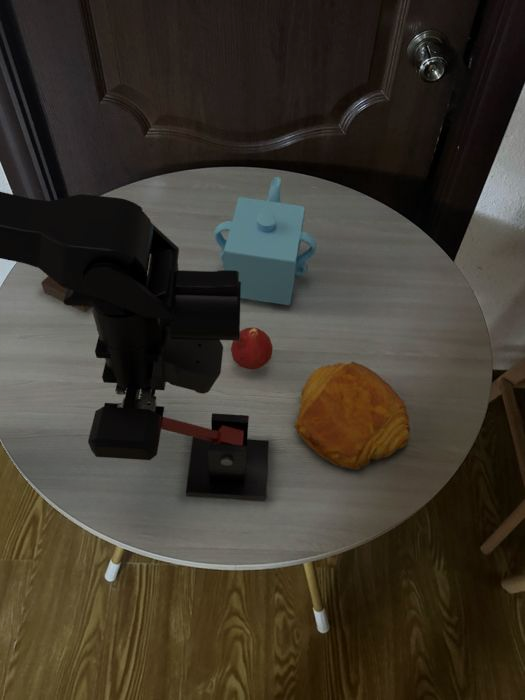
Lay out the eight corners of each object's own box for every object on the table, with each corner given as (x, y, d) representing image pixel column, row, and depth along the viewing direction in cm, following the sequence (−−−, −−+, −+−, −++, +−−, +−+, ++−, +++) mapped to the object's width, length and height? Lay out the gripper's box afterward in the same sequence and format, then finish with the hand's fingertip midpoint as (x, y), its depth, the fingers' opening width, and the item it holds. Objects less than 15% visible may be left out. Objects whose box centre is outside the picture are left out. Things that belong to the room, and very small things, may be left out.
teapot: (305, 314, 96) (315, 255, 86) (207, 299, 97) (205, 238, 87) (317, 236, 107) (327, 175, 97) (229, 223, 108) (229, 161, 97)
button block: (85, 312, 94) (80, 295, 91) (44, 292, 96) (38, 274, 93) (124, 271, 100) (121, 254, 96) (84, 253, 102) (80, 235, 98)
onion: (236, 383, 88) (237, 350, 81) (226, 352, 91) (226, 317, 85) (275, 376, 89) (279, 342, 83) (264, 345, 92) (267, 310, 86)
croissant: (342, 371, 93) (347, 333, 87) (424, 435, 84) (435, 398, 78) (270, 423, 86) (269, 385, 80) (351, 497, 78) (356, 461, 72)
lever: (135, 445, 69) (141, 436, 67) (144, 400, 73) (150, 390, 71) (233, 469, 73) (241, 461, 71) (237, 425, 77) (245, 416, 75)
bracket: (186, 496, 77) (181, 461, 70) (193, 439, 82) (189, 400, 74) (265, 501, 78) (270, 466, 70) (268, 444, 82) (272, 406, 74)
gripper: (206, 419, 51) (210, 495, 64) (224, 259, 62) (225, 351, 75) (72, 411, 51) (102, 489, 64) (114, 252, 62) (133, 345, 75)
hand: (146, 413), depth 69 cm, fingers open, 5 cm apart
